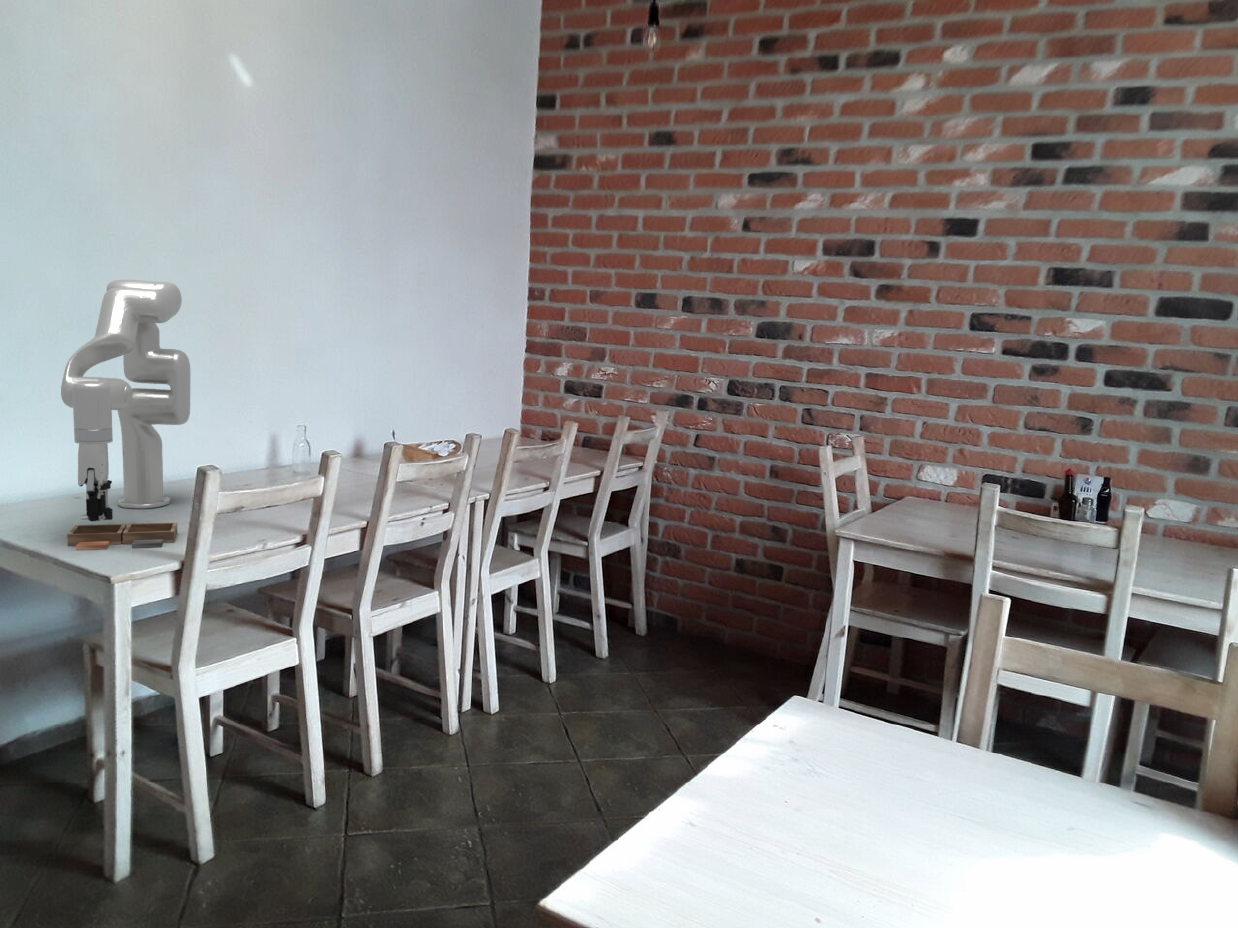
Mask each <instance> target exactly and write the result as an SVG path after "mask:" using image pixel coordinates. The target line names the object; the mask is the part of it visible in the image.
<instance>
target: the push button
mask: <svg viewBox="0 0 1238 928" xmlns="http://www.w3.org/2000/svg"><path fill="white" fill-rule="evenodd" d="M111 484H113V481H112V480H110V479H107V477H106V479H105V483H104V484H103V485H102V486H101V499H103V515H102V516H87V513H86V514H80V515H79V516H80V517H85V516H87V517H85V518H80V519H79V520H80V521H83V520H86V521H89V522H90V523H91V522H92V523H93V522H101V521H112V520H113V517H114V516H113V515H114V514H113V512H114V511H113V508H111V505H110V503H109V490H110V489H111V486H112V485H111ZM84 485H86V483H85V484H84ZM94 486H98V483H94ZM95 489H96V490H97V488H95ZM103 491H104V494H103Z"/></svg>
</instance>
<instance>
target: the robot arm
mask: <svg viewBox="0 0 1238 928" xmlns="http://www.w3.org/2000/svg"><path fill="white" fill-rule="evenodd" d="M181 307H182V292H181V290H180V288H179V287H178V286H177V285H176V284H174V283H172V282H167V281H166V282H165V281H151V280H150V281H149V280H141V279H140V280H138V279H137V280H136V279H116V280H113V281H110V282H109V283H108V284H107V286H106V292H105V293H104V295H103V299H102V302H101V307H100V310H99V314H98V321H97V324H96V325H97V326H96V328H95V329H96V330H95V335H94V337H93V338H92V339H90V340H89V341H88V342H86V343H85V344H83V345H82V346H81V347H80V348H78V349H77V350H76V351H75V352H74V353H73V354H72V355H71V357H70V358H69V359H68V361H67V362H66V365H65V368H64V372H63V376H62V381H61V385H60V386H61V387H60V397H61V400H62V402H63V403H64V405H66V407H68V408H71V409H72V410H73V412H72V414H73V416H72V417H73V435H74V438H73V439H74V443H75V444H78V452H77V485H78V487H84V485H85V488H86V489H85V490H86V491H85V494H86V495H85V496H86V499H85V510H86V514H87V517H88V516H102V515H103V499H101V486H102V485H103V484H104V483H105V479H106V477H107V480H109V467H110V466H109V447H108V446H109V445H108V444H110V443H112V442H113V441H114V439H113V436H114V435H113V415H112V414H113V411H117V414H118V418H119V423H120V428H121V429H120V430H121V431H120V432H121V446H122V449H121V450H122V470H123V472H122V473H123V496H124V497H121V498H119V499H118V500H117V506H119V507H122V508H126V509H152V508H154V509H155V508H160V507H164V506H167V505H169V504H170V503H171V498H170V497H169V496H166V495H164V494H165V493H164V466H163V465H164V464H163V441H162V437H161V435H160V434H159V433H158V430H156V429H155V428H154V426H153V425H166V426H167V425H168V426H169V425H170V426H177V425H178V426H180V425H184V424H186V423H187V422H188V421H189V418H190V413H191V363H190V360H189V357H188V355H187V354H186V352H185V351H182V350H180V349H175V348H161V346H160V343H161V342H160V334H161V333H160V332H161V331H160V328H159V326H158V325H157V324H165V323H166V322H168V321H169V320H171V319H172V318H174V317H175V316H176V314H178V312H180V309H181ZM121 356H123V358H122V359H123V362H122V363H123V364H122V365H123V373H124V377H125V379H126V380H128V381H129V382H133V383H137V384H153V385H168V386H169V388H170V389H165V388H163V389H159V388H145V387H142V388H141V387H138V388H137V387H135V388H132V386H131V385H130V384H129V382H127V381H126V380H124V379H122V378H116V377H102V376H101V377H100V376H85V374H86V373H87V372H88V371H89V370H90V369H91V368H93V367H94V366H97V365H98V364H101V363H105V362H107V361H110V360H113V359H117V358H120V357H121ZM85 483H86V484H85ZM94 483H98V486H94ZM95 488H97V490H96V489H95ZM103 494H104V491H103Z"/></svg>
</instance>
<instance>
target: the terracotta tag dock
mask: <svg viewBox="0 0 1238 928" xmlns="http://www.w3.org/2000/svg"><path fill="white" fill-rule="evenodd" d="M126 526H127V523H112V524H110V523H108V524H80V525H79V524H76V525H74V526H73V527H72V528H71V530H70V531H69V532H68V533H67V534H66V535H67V537H66V538H67V547H75V548H76V549H75V550H76V551H89V550H90V551H92V550H94V551H95V550H107V549H108V548H109V546H110V545H122V544H123V532H124V530H125V528H126Z"/></svg>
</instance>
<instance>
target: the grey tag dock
mask: <svg viewBox="0 0 1238 928" xmlns="http://www.w3.org/2000/svg"><path fill="white" fill-rule="evenodd" d="M177 532H178V522H151V523H150V522H149V523H148V522H147V523H144V522H143V523H128V524H126V528H125V530H124V532H123V542H122V544H123V545H131V549H144V548H145V549H146V548H147V549H149V548H162V547H163V544H166V542H169V543H175V541H176V539H177V536H176V535H178V533H177Z"/></svg>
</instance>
